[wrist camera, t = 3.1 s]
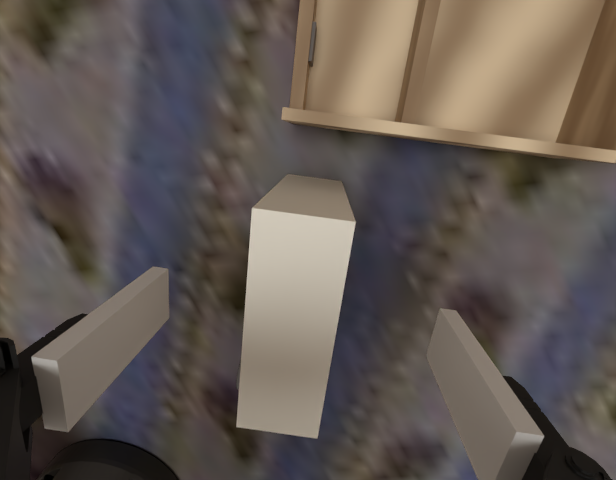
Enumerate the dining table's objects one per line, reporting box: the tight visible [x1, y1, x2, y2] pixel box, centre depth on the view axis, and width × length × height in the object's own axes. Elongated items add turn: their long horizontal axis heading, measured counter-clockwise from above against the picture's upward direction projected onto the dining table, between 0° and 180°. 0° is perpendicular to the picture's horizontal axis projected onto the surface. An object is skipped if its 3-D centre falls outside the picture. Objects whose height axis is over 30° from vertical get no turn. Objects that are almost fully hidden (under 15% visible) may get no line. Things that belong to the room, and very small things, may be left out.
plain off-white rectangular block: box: [236, 174, 356, 439], centre depth 20 cm, size 4×11×12 cm, turn 173°
